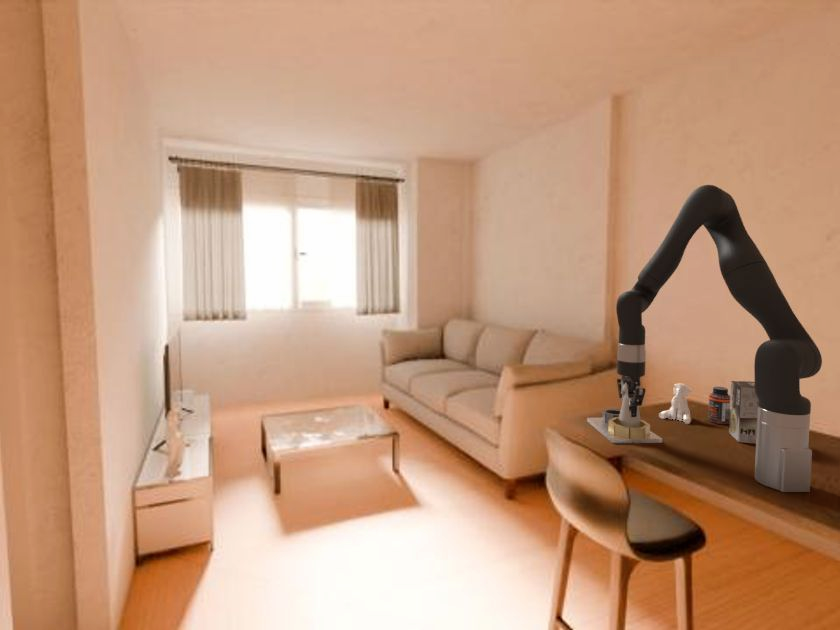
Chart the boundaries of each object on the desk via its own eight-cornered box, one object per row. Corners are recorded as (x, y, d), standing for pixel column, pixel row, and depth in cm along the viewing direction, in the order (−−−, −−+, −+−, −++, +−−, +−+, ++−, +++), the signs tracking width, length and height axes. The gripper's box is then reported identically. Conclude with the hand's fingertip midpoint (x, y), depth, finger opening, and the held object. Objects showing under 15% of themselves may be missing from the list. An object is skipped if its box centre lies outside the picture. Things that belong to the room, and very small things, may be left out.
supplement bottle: (703, 420, 150) (704, 386, 149) (717, 418, 152) (718, 385, 151) (720, 425, 144) (721, 390, 143) (734, 423, 146) (736, 389, 145)
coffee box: (764, 445, 128) (767, 388, 126) (737, 442, 130) (740, 386, 128) (752, 434, 136) (755, 381, 135) (727, 432, 138) (730, 379, 137)
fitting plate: (662, 442, 130) (662, 428, 130) (612, 443, 130) (613, 428, 130) (629, 420, 150) (630, 408, 149) (587, 421, 150) (587, 408, 149)
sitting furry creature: (657, 418, 152) (659, 383, 151) (667, 413, 158) (668, 379, 157) (689, 424, 145) (690, 387, 144) (698, 419, 151) (699, 383, 150)
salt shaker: (642, 430, 132) (643, 386, 131) (621, 429, 133) (622, 385, 132) (637, 424, 137) (638, 381, 136) (617, 423, 139) (618, 381, 137)
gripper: (656, 363, 126) (654, 424, 128) (632, 354, 140) (631, 409, 142) (629, 363, 126) (627, 424, 128) (608, 355, 141) (607, 409, 142)
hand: (629, 416), depth 135 cm, fingers closed on salt shaker, 3 cm apart
